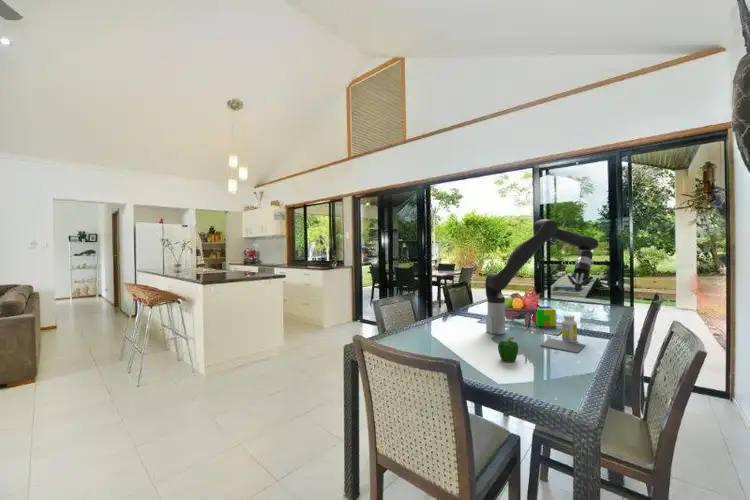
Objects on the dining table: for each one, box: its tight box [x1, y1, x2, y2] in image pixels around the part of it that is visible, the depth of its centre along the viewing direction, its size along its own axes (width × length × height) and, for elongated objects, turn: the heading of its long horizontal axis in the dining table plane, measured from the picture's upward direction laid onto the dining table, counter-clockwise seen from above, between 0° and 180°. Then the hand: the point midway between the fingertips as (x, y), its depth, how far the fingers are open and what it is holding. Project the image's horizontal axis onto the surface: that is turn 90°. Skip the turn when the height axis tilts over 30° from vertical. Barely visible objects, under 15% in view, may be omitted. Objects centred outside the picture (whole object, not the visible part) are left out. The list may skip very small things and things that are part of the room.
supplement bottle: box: [561, 314, 578, 343], centre depth 172 cm, size 7×7×13 cm
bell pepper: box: [497, 336, 519, 363], centre depth 146 cm, size 8×8×10 cm
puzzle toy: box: [531, 305, 557, 327], centre depth 204 cm, size 10×10×10 cm
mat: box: [539, 338, 586, 354], centre depth 164 cm, size 14×16×1 cm
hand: (577, 290), depth 182 cm, fingers closed
